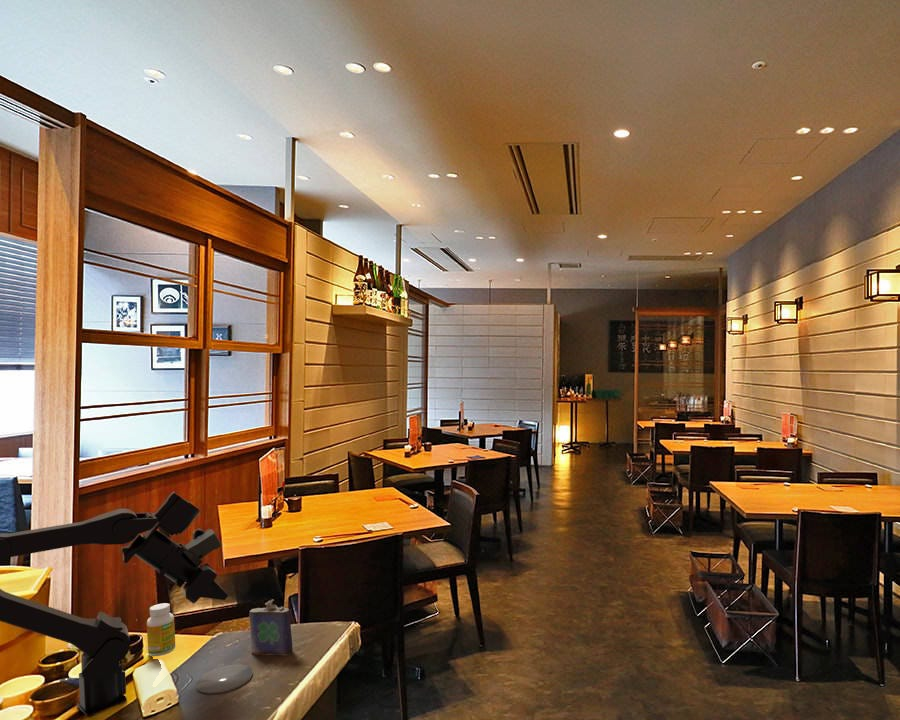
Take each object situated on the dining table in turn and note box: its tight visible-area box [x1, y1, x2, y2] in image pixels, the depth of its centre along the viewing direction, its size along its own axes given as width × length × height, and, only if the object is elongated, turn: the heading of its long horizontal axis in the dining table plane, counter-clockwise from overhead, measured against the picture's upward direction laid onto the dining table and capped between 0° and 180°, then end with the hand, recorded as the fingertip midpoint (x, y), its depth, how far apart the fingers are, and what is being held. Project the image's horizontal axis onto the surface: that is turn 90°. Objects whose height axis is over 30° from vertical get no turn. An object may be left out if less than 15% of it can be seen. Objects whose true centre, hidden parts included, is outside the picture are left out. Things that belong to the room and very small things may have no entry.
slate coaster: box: [196, 663, 253, 695], centre depth 113 cm, size 10×10×1 cm
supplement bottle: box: [146, 602, 176, 657], centre depth 129 cm, size 5×5×10 cm
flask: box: [248, 599, 294, 656], centre depth 124 cm, size 9×3×11 cm, turn 78°
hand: (226, 597), depth 120 cm, fingers closed
